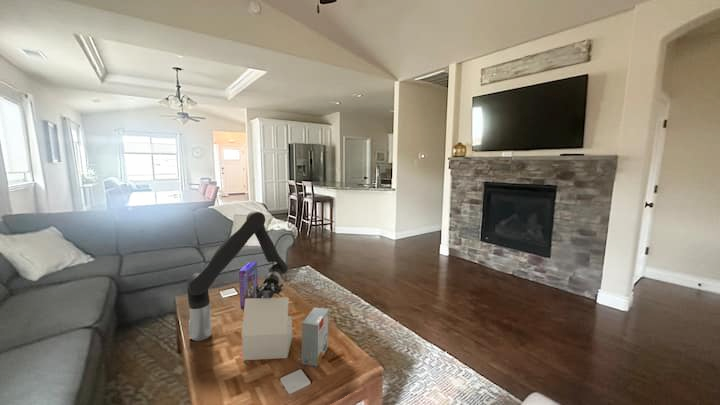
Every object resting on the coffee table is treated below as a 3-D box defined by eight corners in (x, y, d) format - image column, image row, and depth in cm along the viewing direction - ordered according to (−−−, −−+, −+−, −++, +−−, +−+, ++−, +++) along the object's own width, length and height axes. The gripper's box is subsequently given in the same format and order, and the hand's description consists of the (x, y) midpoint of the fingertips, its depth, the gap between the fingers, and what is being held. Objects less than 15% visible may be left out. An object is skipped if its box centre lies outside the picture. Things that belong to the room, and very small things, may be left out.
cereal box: (248, 307, 180) (246, 270, 177) (240, 307, 180) (238, 270, 177) (258, 295, 197) (257, 261, 194) (251, 294, 197) (249, 261, 194)
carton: (242, 360, 132) (241, 335, 130) (252, 339, 147) (251, 317, 146) (287, 357, 134) (286, 333, 132) (292, 337, 149) (291, 315, 148)
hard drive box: (317, 367, 128) (317, 325, 125) (301, 365, 129) (300, 323, 126) (328, 346, 143) (328, 308, 140) (313, 344, 144) (313, 306, 142)
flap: (241, 335, 130) (239, 336, 127) (246, 291, 137) (244, 291, 134) (286, 333, 132) (285, 334, 129) (289, 290, 139) (288, 289, 136)
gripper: (258, 274, 148) (248, 289, 131) (286, 273, 149) (280, 288, 132) (258, 288, 149) (249, 304, 132) (286, 287, 150) (281, 303, 133)
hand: (265, 296), depth 132 cm, fingers closed on flap, 4 cm apart
